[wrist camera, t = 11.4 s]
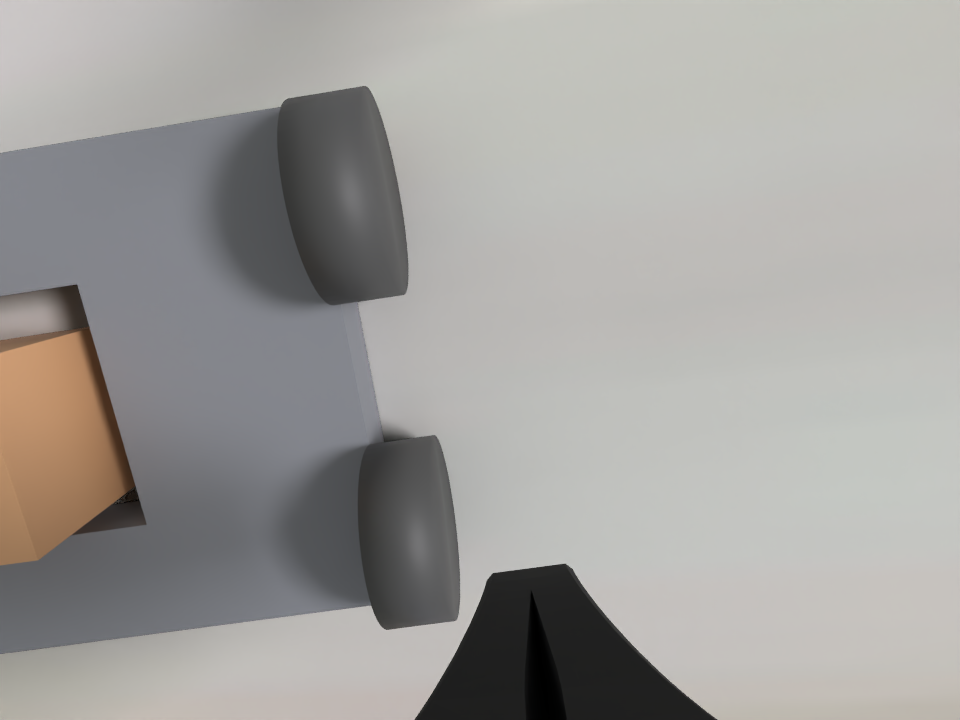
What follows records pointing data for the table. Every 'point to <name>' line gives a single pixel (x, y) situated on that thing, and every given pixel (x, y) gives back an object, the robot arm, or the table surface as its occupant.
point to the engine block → (55, 442)
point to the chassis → (231, 376)
